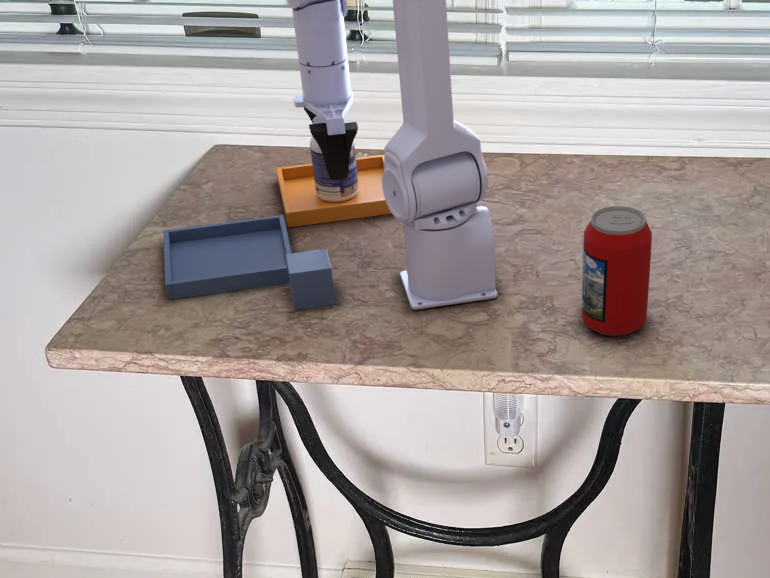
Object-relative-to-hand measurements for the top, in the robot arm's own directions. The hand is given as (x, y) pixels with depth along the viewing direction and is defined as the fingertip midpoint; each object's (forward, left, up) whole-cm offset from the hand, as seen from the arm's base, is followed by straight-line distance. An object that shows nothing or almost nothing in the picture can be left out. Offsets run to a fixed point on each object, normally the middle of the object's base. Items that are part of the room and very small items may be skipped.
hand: (335, 168), depth 147 cm
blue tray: (+14, +14, -4) cm, 20 cm away
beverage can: (-24, +38, -4) cm, 45 cm away
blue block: (+6, +24, -4) cm, 25 cm away
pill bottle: (0, 0, -4) cm, 4 cm away
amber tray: (0, 0, -4) cm, 4 cm away
